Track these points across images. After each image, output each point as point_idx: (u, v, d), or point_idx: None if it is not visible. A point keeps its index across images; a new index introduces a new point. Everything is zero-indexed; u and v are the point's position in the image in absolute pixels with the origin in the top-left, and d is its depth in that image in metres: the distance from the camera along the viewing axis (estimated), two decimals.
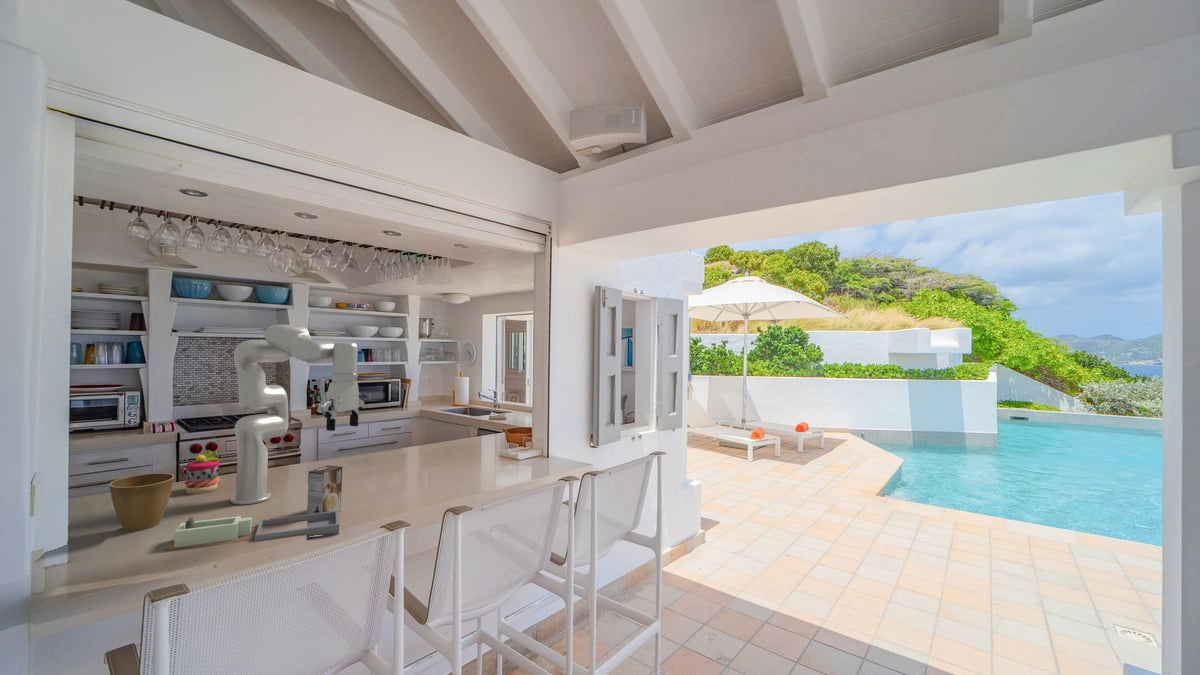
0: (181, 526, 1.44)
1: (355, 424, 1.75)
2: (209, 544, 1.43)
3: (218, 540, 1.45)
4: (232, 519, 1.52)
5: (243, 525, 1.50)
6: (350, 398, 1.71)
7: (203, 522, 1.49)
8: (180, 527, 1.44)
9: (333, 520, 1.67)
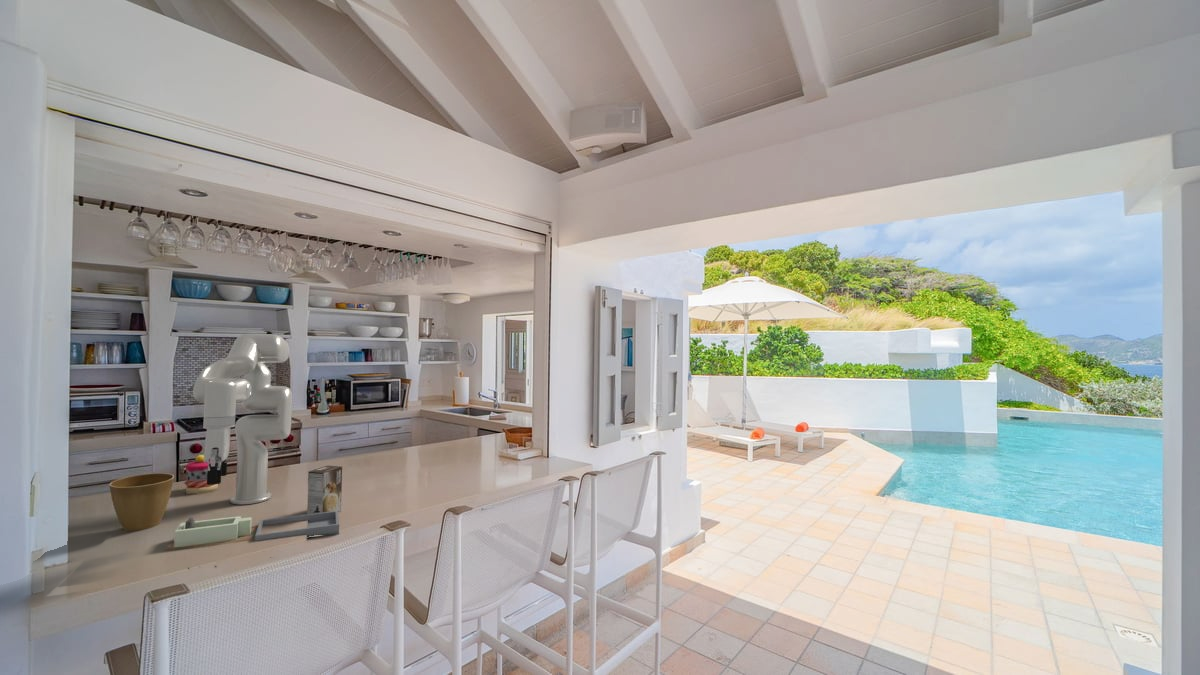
0: (181, 526, 1.44)
1: (224, 473, 1.52)
2: (209, 544, 1.43)
3: (218, 540, 1.45)
4: (232, 519, 1.52)
5: (243, 525, 1.50)
6: (228, 444, 1.50)
7: (203, 522, 1.49)
8: (180, 527, 1.44)
9: (333, 520, 1.67)
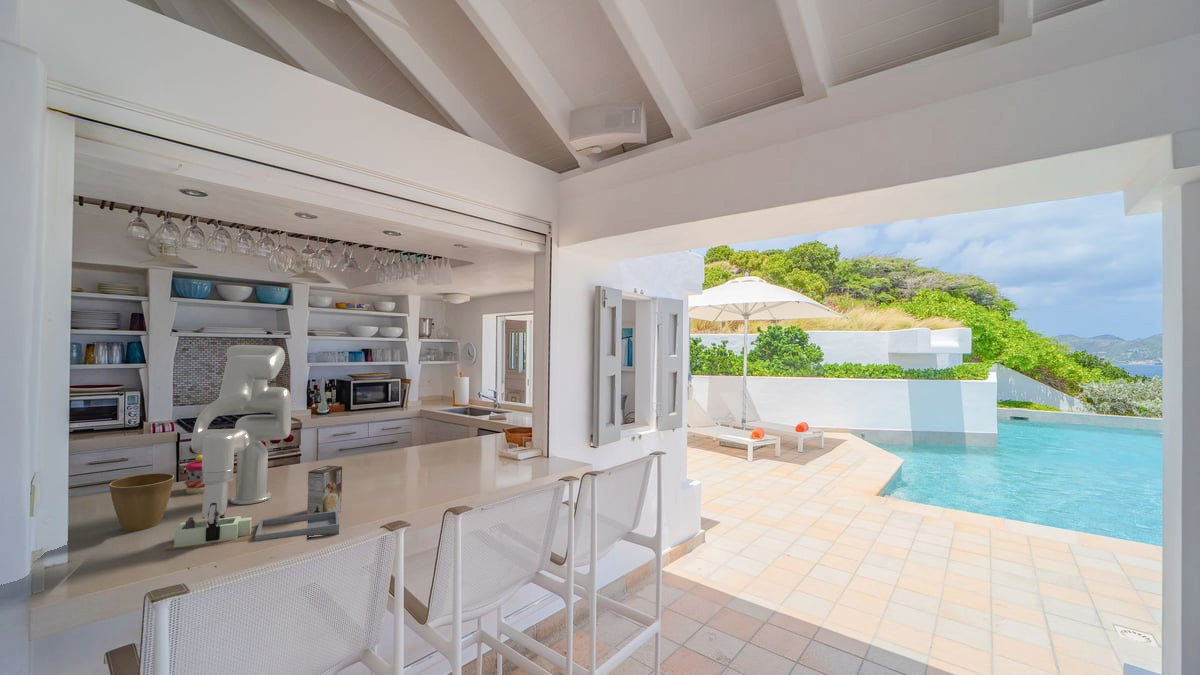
0: (181, 526, 1.44)
1: None
2: (209, 544, 1.43)
3: (218, 540, 1.45)
4: (232, 519, 1.52)
5: (243, 525, 1.50)
6: (227, 497, 1.50)
7: (203, 522, 1.49)
8: (180, 527, 1.44)
9: (333, 520, 1.67)
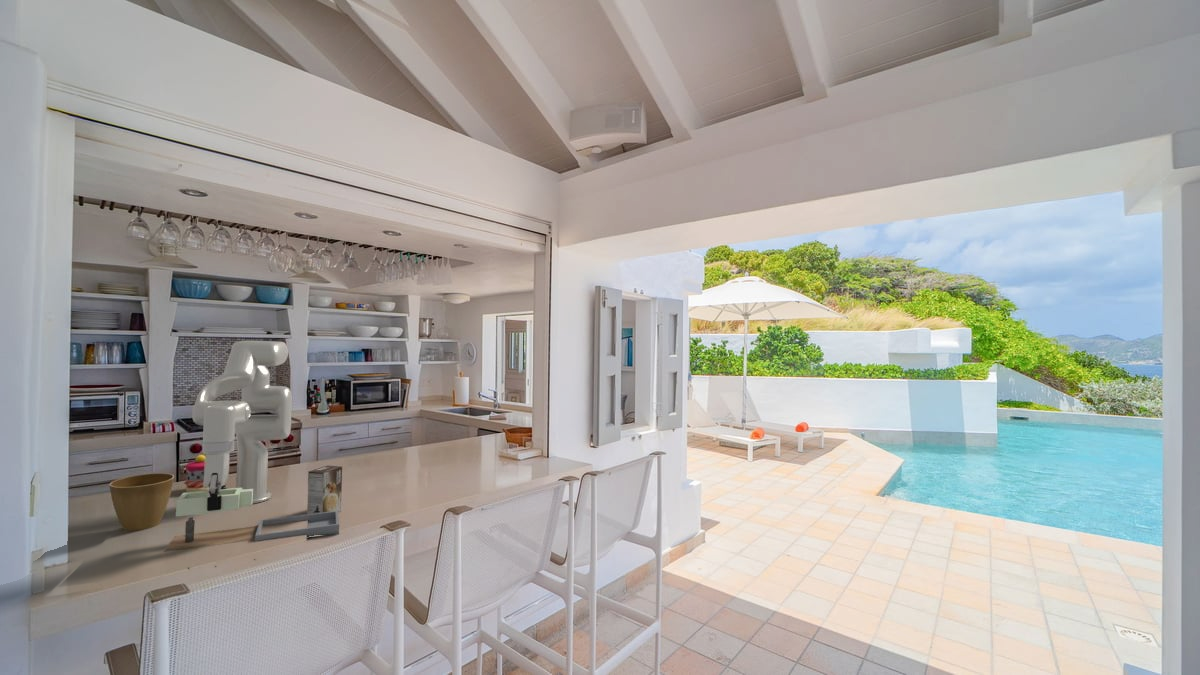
0: (182, 496, 1.45)
1: None
2: (209, 544, 1.43)
3: (219, 510, 1.46)
4: (233, 490, 1.52)
5: (244, 496, 1.51)
6: (228, 467, 1.50)
7: (204, 492, 1.49)
8: (182, 497, 1.44)
9: (333, 520, 1.67)
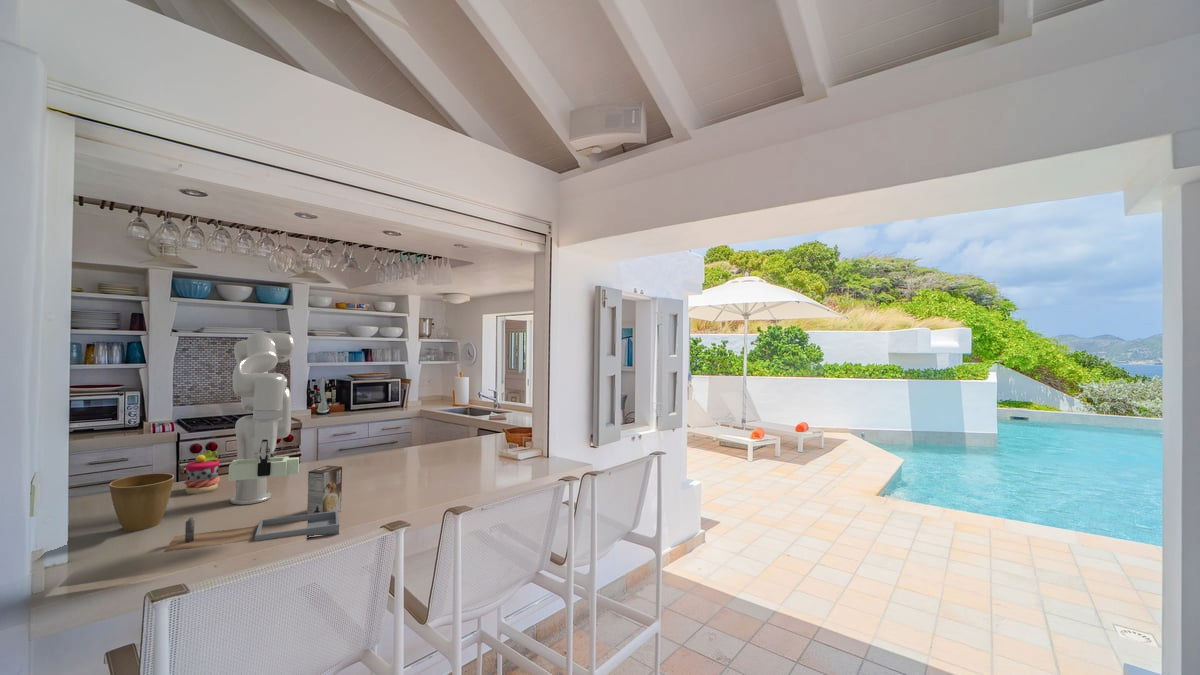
0: (234, 462, 1.51)
1: None
2: (209, 544, 1.43)
3: (268, 476, 1.51)
4: (281, 458, 1.58)
5: (291, 464, 1.56)
6: (276, 436, 1.56)
7: (254, 460, 1.55)
8: (233, 462, 1.50)
9: (333, 520, 1.67)
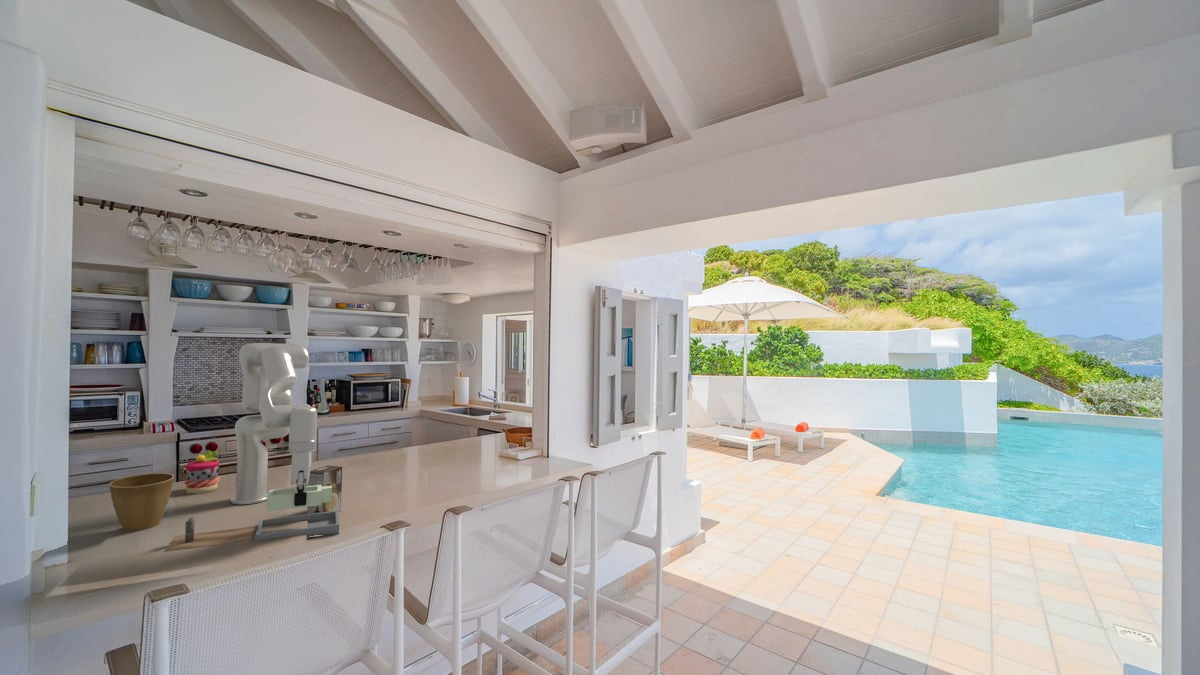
0: (270, 492, 1.55)
1: None
2: (209, 544, 1.43)
3: (304, 505, 1.56)
4: (314, 487, 1.62)
5: (325, 492, 1.61)
6: None
7: (289, 489, 1.59)
8: (270, 493, 1.54)
9: (333, 520, 1.67)
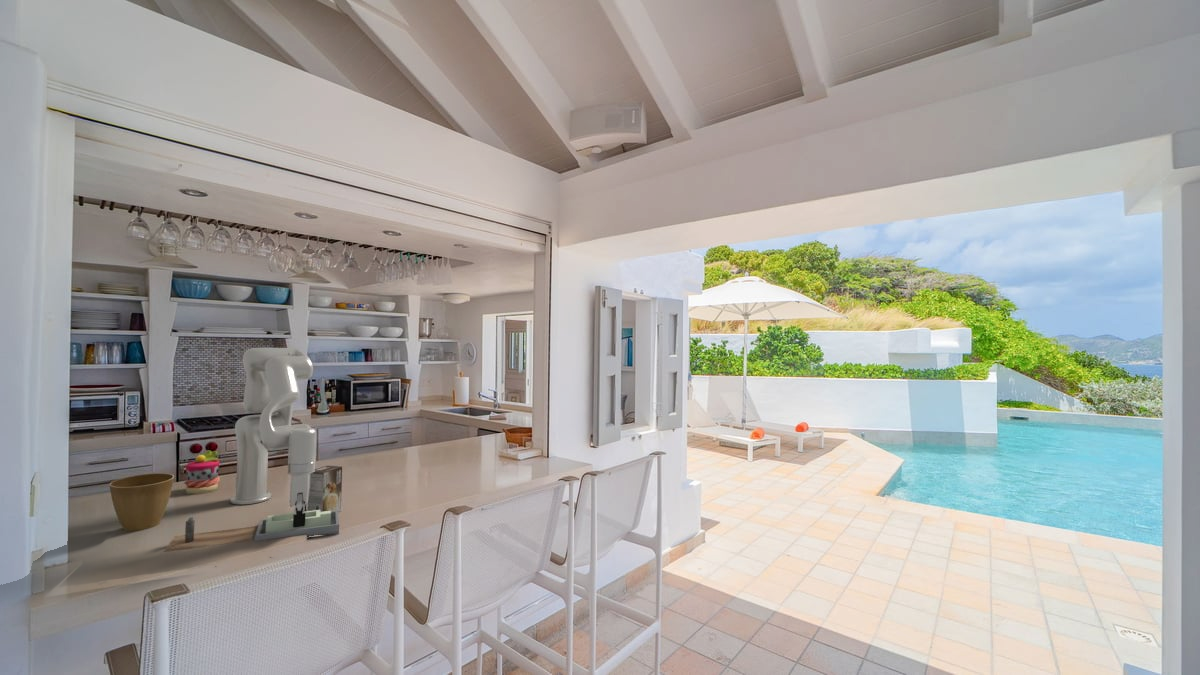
0: (269, 518, 1.55)
1: None
2: (209, 544, 1.43)
3: None
4: (313, 512, 1.62)
5: (324, 518, 1.61)
6: None
7: (288, 515, 1.59)
8: (269, 519, 1.54)
9: (333, 520, 1.67)
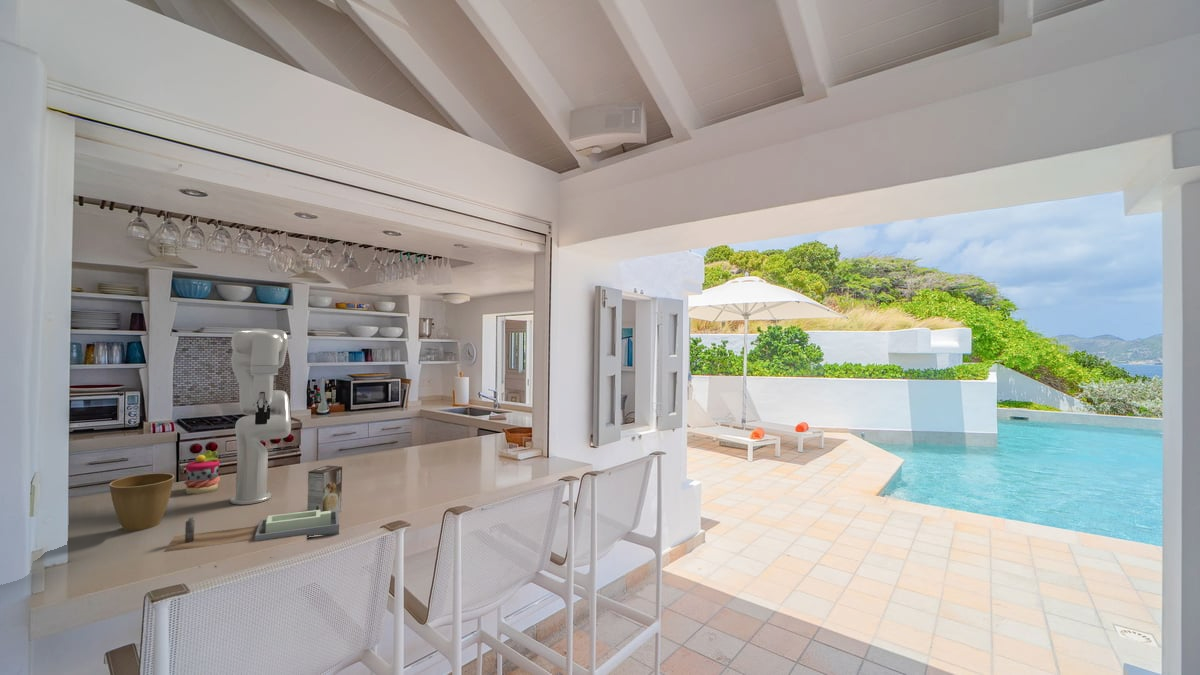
0: (269, 518, 1.55)
1: (267, 417, 1.70)
2: (209, 544, 1.43)
3: None
4: (313, 512, 1.62)
5: (324, 518, 1.61)
6: (272, 390, 1.67)
7: (288, 515, 1.59)
8: (269, 519, 1.54)
9: (333, 520, 1.67)
